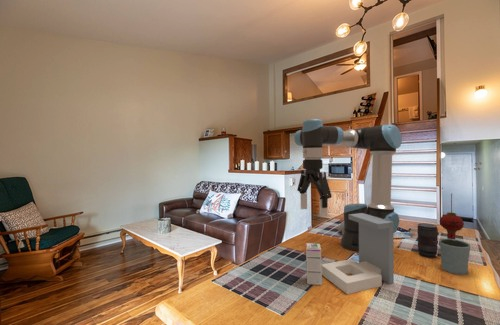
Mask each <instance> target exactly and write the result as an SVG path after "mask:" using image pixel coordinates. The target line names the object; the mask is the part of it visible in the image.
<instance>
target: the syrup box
mask: <svg viewBox="0 0 500 325" xmlns="http://www.w3.org/2000/svg"><path fill="white" fill-rule="evenodd" d="M305 258H306V259H305V260H306V262H305V263H306V281H307V282H306V284H307V285H313V286H314V285H315V286H323V275H322V264H323V263H322V248H321V244H320V243H317V242H308V243H307V242H306V243H305Z"/></svg>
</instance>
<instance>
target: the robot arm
mask: <svg viewBox="0 0 500 325" xmlns="http://www.w3.org/2000/svg"><path fill="white" fill-rule="evenodd" d="M293 140H294V143H295V145H297V146H299V147H302V158H303V160H302V169H303V170H300V178H299V181H298V186H297V192H298V193H299V195H300V210H305V209H306V210H307V209H308V193H307V192H308V191H307V190H308V189H309V187H310V185H311V183H312V184H313V185H314V186H315V188H316V190H317V192H318V195H319V201H318V202H319V217H321V218H323V217H328V200H329V199H331V198H332V192H331V189H330V186H329V182H328V179H327V173H326V171H321V170H322V169H323V163H324V162H323V160H322V159H323V156H324V155H323V146H324V147H326V146H328V147H330V146H333V147H335V146H337V147H339V146H341V147H342V146H343V147H344V146H345V147H346V148H349V149H350V148H352V149H359V150H360V149H363V150H369V154H371V155H372V160H371V161H372V163H371V164H372V167H371V168H372V169H371V195H370V197H371V200H370V202H369V204H368V205H367V204H366V203H350V204H348V203H347V204H345V205H344V207H343V222H344V233H343V235H342V236H341V239H340V245H341V247H342V248H344V249H346V250H350V251H355V252H359V222H356V221H353V220H350V219H349V214H358V213H364V214H367V215H371V216H374V217H378V218H381V219H385V220H388V221H392V222H393V226H394V234H395V233H396V231H397V230H398V227H399V224H400V216H399V214H398V213H397V212H395V207H393V205H392V202H391V201H392V198H391V197H392V175H393V174H392V171H393V156H394V154H396V152H397V149H399V148H400V147H401V145H402V142H403V139H402V133H401V131H400V129H399V127H397V125H394V124H380V125H373V126H366V127H360V128H359V127H358V128H353V129H352V128H349V129H346V130H343V129H342V127H340V126H336V125H324V124H323V120H322V119H319V118H310V119H305V120H303V122H302V129H300V130H297V131H296V132H295V134H294V138H293Z"/></svg>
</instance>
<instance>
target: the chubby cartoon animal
mask: <svg viewBox="0 0 500 325" xmlns="http://www.w3.org/2000/svg"><path fill="white" fill-rule="evenodd" d="M337 225H338V233H341V235H342V236H343V233H344V221H342V222H340V224H337Z"/></svg>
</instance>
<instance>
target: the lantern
mask: <svg viewBox="0 0 500 325" xmlns="http://www.w3.org/2000/svg"><path fill="white" fill-rule="evenodd" d="M450 196H451V197H450V202H451V204H450V206H451V207H450V212H447V213H446V214H444V215H442V216H441V217H440V220H439V224H440V226H441V228H443V229H445V230H446V233H447V236H446V237H447V238H446V239H455V240H456V234H457V232H458V231H459V232H460V231H461V230H462V229H464V221H463V219H462V218H461V217H460V216H458V215H457V213H455V212H453V207H452V206H453V204H452V203H453V193H450Z"/></svg>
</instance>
